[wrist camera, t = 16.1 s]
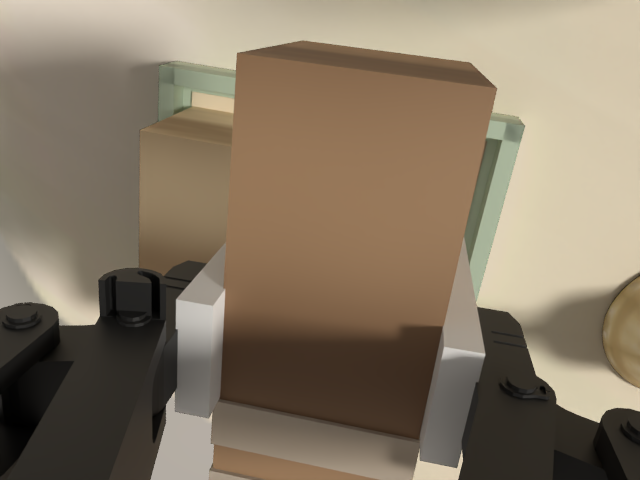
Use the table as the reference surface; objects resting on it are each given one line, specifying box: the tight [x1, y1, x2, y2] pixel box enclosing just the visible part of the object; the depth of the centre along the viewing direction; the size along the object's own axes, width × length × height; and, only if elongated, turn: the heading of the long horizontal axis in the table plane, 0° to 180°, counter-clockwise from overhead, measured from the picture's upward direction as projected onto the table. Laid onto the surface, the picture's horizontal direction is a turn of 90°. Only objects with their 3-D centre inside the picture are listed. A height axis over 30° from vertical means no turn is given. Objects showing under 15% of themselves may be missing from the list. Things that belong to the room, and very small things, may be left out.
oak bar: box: [139, 106, 234, 276], centre depth 29 cm, size 12×5×6 cm, turn 172°
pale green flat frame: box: [158, 61, 525, 301], centre depth 31 cm, size 15×17×2 cm
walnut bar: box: [209, 41, 497, 480], centre depth 15 cm, size 12×5×6 cm, turn 174°
